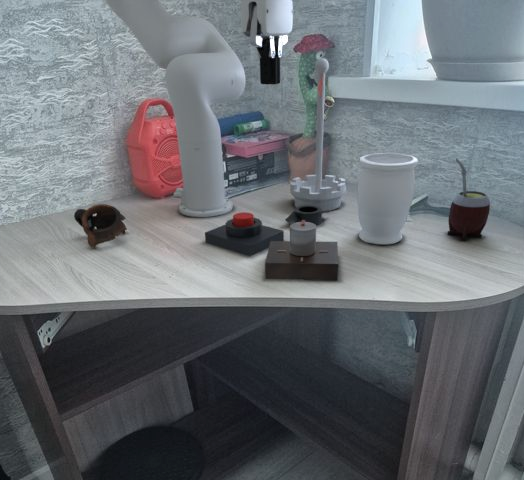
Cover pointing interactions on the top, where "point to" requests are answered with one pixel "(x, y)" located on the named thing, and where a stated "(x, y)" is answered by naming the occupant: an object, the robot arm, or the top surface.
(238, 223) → the button
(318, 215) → the black wing nut
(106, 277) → the top surface
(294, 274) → the dial panel
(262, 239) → the button block
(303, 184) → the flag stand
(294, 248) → the dial
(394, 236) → the jar
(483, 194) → the mate gourd
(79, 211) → the rusty brown ring housing
